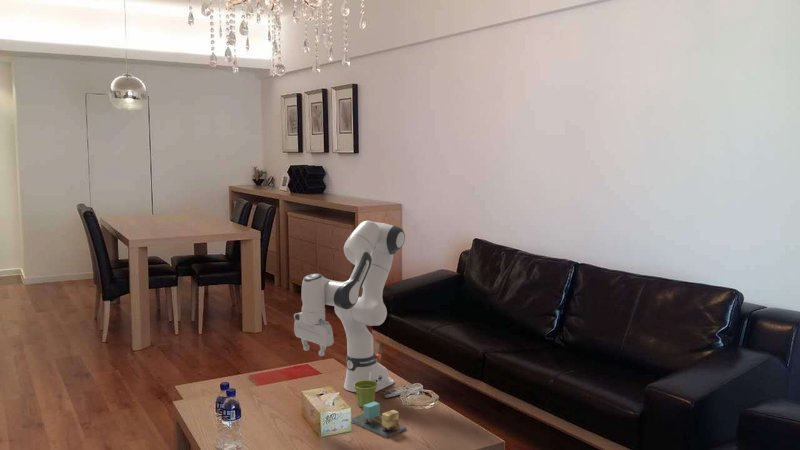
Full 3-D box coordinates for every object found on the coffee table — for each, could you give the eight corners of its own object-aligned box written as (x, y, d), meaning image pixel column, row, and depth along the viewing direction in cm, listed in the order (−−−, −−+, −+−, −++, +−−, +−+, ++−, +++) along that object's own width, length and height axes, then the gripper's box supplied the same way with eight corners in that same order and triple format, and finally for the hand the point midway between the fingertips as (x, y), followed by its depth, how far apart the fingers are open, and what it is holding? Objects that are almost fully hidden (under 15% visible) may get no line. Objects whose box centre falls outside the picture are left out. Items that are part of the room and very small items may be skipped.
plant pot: (349, 407, 264) (349, 386, 264) (360, 399, 273) (359, 378, 272) (371, 411, 261) (371, 389, 260) (381, 402, 270) (381, 381, 269)
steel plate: (369, 414, 258) (369, 411, 258) (406, 429, 244) (406, 426, 244) (349, 421, 251) (349, 418, 251) (386, 438, 237) (386, 435, 237)
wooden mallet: (365, 413, 256) (365, 398, 255) (400, 428, 242) (400, 412, 242) (354, 417, 252) (354, 402, 251) (389, 433, 238) (389, 416, 238)
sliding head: (374, 416, 252) (374, 401, 252) (379, 419, 250) (379, 403, 249) (363, 420, 248) (363, 405, 248) (368, 423, 246) (368, 407, 246)
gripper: (337, 320, 249) (337, 357, 250) (304, 311, 263) (304, 345, 265) (323, 323, 244) (324, 360, 246) (291, 313, 259) (291, 348, 260)
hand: (313, 352), depth 255 cm, fingers open, 8 cm apart
